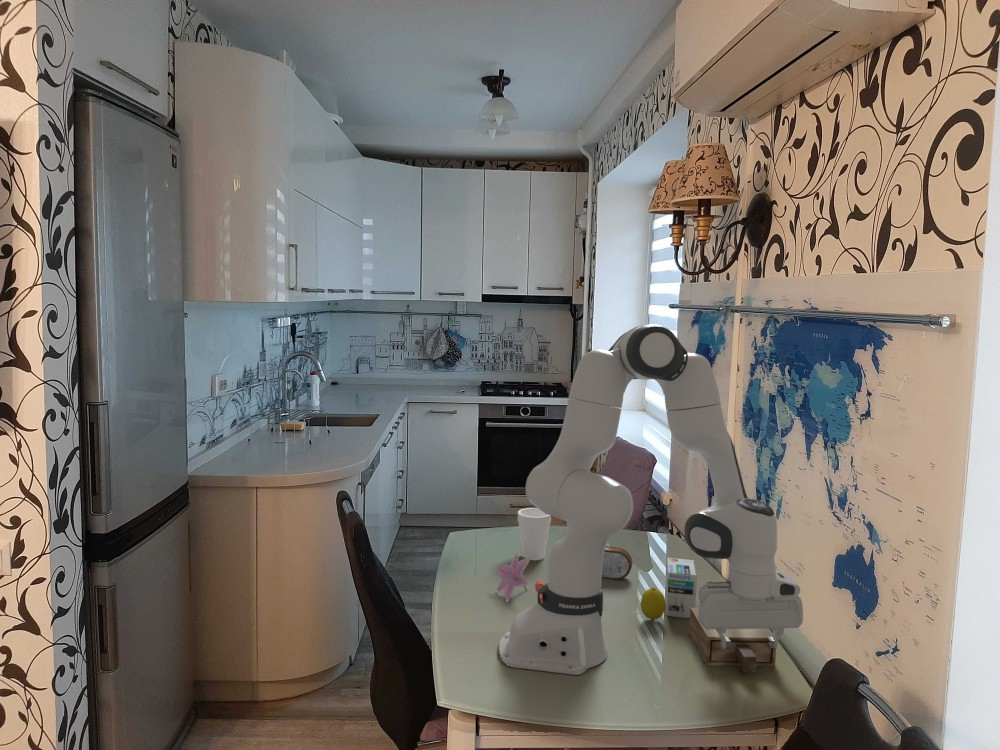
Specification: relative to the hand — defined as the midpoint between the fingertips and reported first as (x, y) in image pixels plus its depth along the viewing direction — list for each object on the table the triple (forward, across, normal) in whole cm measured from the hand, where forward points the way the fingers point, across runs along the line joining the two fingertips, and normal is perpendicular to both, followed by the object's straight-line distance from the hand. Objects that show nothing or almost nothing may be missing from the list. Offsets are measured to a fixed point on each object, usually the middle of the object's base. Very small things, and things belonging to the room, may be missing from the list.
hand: (748, 647), depth 147 cm
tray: (+4, -1, +6) cm, 7 cm away
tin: (+5, -21, +48) cm, 53 cm away
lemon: (+5, -14, +22) cm, 27 cm away
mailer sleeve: (+5, -1, +9) cm, 10 cm away
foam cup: (+5, -38, +63) cm, 74 cm away
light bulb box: (+5, -6, +29) cm, 30 cm away
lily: (+5, -46, +37) cm, 59 cm away
